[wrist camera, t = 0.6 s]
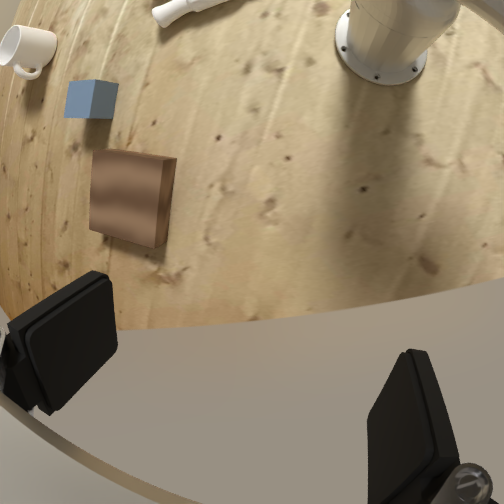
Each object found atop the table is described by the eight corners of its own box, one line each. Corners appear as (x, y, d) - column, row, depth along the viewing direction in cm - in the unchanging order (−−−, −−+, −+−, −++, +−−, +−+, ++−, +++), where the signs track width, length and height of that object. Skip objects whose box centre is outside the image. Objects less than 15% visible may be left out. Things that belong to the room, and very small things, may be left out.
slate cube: (93, 84, 42) (69, 81, 37) (119, 83, 41) (95, 79, 36) (87, 117, 44) (63, 117, 39) (113, 118, 44) (89, 118, 38)
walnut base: (108, 148, 45) (93, 150, 42) (176, 158, 43) (163, 159, 40) (103, 223, 50) (89, 229, 46) (166, 241, 48) (154, 249, 44)
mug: (61, 71, 42) (21, 66, 33) (36, 90, 45) (-2, 90, 35) (57, 25, 39) (21, 16, 30) (33, 45, 42) (-2, 41, 32)
